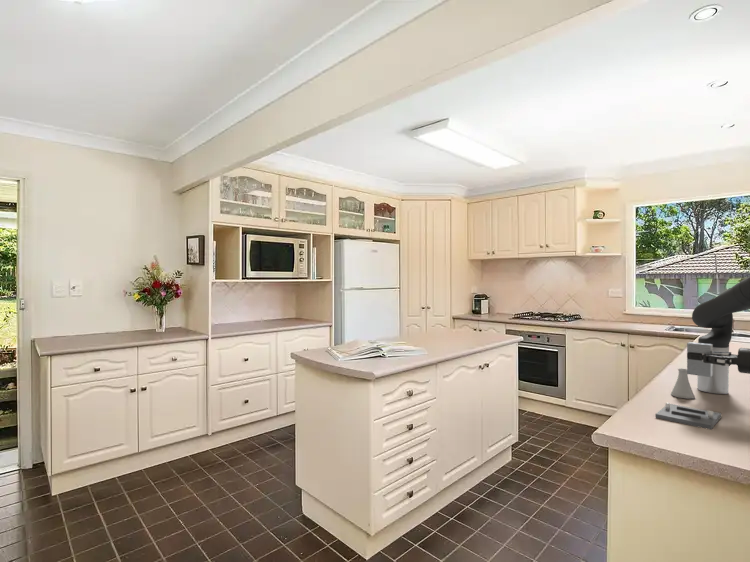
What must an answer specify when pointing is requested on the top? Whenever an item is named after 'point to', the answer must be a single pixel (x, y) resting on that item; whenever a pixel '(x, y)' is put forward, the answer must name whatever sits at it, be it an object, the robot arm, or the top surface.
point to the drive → (696, 365)
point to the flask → (682, 386)
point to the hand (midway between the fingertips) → (688, 354)
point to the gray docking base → (689, 415)
